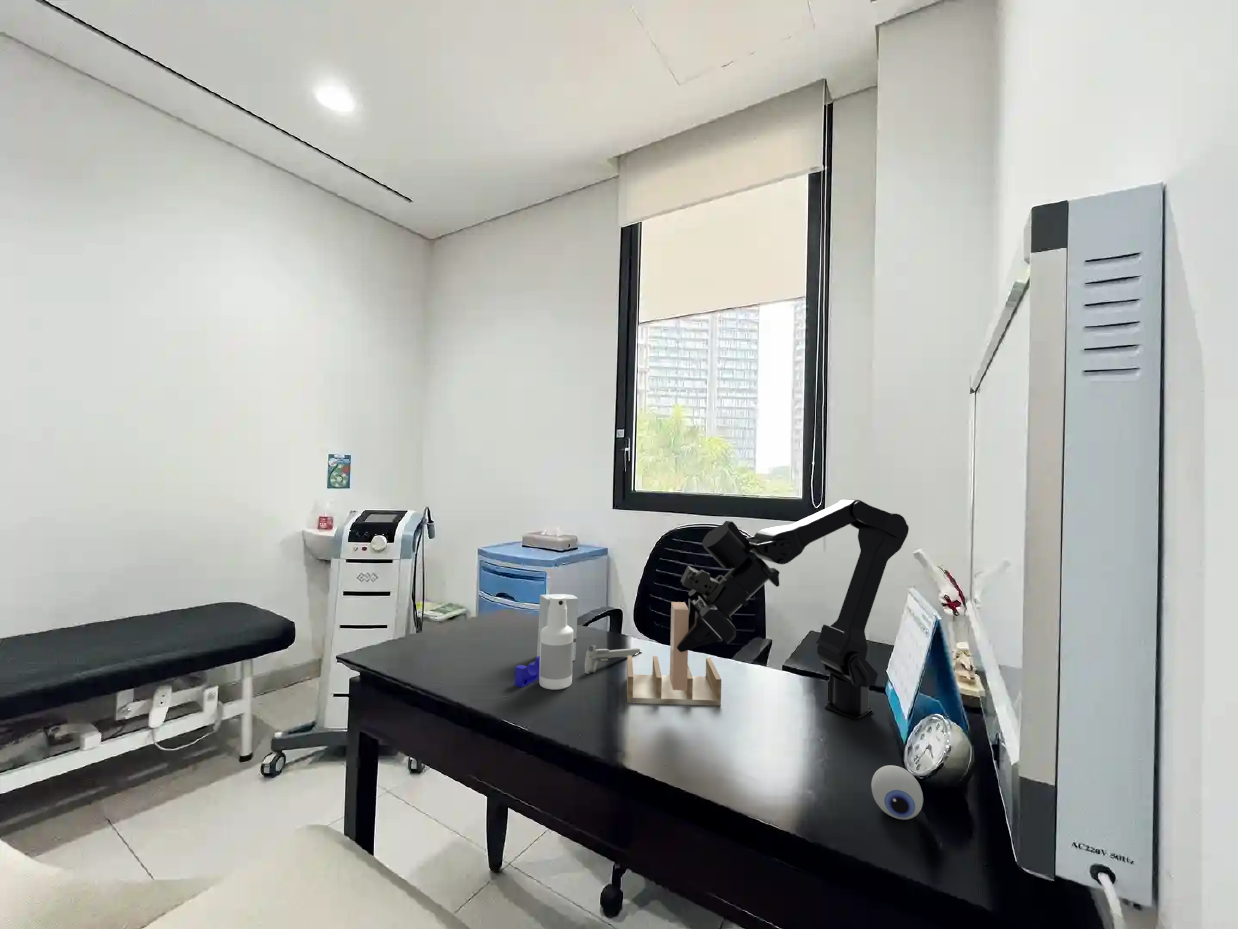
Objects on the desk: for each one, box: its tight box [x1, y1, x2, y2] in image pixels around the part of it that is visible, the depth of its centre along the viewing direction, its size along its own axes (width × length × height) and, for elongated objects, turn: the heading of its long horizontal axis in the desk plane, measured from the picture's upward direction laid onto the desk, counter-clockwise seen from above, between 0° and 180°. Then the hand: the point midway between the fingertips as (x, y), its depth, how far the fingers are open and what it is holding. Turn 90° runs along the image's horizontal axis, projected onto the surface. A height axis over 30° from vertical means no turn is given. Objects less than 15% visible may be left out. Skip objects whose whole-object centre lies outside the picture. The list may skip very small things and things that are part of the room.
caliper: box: [584, 644, 641, 675], centre depth 121 cm, size 20×1×6 cm, turn 141°
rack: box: [626, 655, 722, 707], centre depth 105 cm, size 18×12×5 cm, turn 90°
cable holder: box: [514, 656, 540, 688], centre depth 110 cm, size 8×4×4 cm, turn 149°
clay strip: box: [669, 601, 689, 690], centre depth 93 cm, size 2×6×14 cm, turn 0°
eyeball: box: [870, 764, 924, 821], centre depth 68 cm, size 6×6×6 cm
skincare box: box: [536, 593, 579, 662], centre depth 123 cm, size 8×6×15 cm
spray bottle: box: [538, 595, 573, 691], centre depth 108 cm, size 7×7×18 cm
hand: (676, 644), depth 93 cm, fingers closed on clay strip, 5 cm apart
